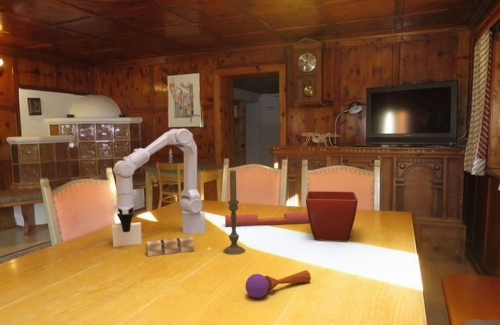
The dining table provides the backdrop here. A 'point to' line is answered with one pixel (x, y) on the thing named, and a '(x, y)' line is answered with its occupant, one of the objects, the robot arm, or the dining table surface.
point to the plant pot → (331, 214)
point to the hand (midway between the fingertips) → (126, 229)
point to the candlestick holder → (233, 218)
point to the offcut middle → (170, 246)
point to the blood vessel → (268, 219)
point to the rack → (163, 248)
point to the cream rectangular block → (127, 235)
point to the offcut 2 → (186, 244)
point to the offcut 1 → (154, 247)
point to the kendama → (272, 283)
